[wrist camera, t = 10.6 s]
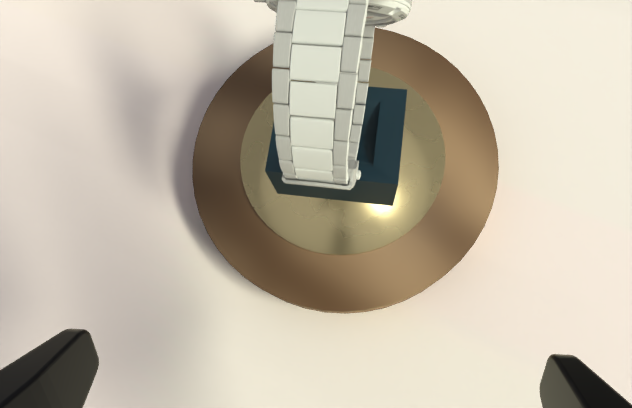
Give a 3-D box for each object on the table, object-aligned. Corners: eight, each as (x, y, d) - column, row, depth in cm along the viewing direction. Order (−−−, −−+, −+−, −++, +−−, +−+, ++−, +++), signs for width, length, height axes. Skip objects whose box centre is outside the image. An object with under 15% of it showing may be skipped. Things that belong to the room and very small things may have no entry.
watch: (404, 87, 23) (442, -123, 13) (389, 242, 21) (419, 146, 10) (295, 78, 24) (245, -127, 13) (269, 228, 22) (185, 124, 11)
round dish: (375, 379, 21) (377, 384, 19) (149, 199, 25) (130, 186, 23) (542, 138, 24) (560, 119, 22) (316, 6, 28) (312, -22, 26)
